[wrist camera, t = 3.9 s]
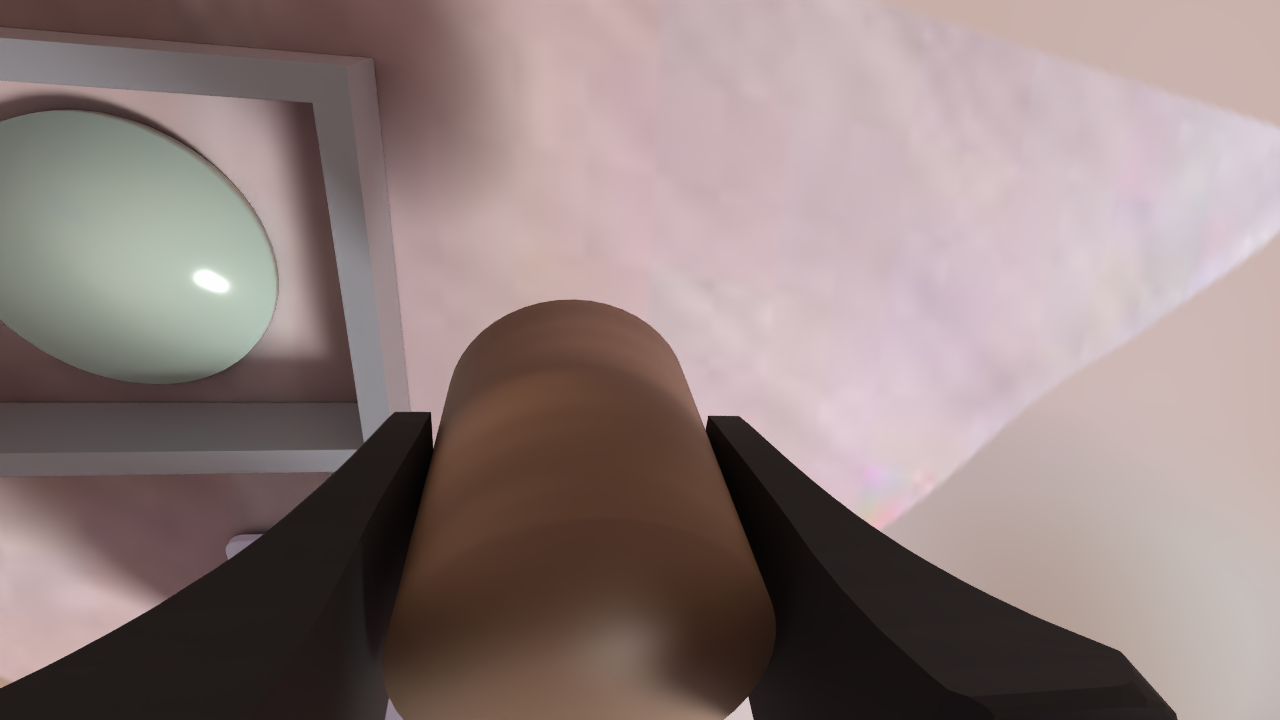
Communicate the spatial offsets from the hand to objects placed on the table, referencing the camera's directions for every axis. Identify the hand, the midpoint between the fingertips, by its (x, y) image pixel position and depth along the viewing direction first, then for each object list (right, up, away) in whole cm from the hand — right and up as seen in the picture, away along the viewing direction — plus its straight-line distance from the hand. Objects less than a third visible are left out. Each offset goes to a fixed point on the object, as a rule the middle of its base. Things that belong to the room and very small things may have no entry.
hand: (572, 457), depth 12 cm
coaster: (-13, +5, +5) cm, 15 cm away
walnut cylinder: (0, +1, +2) cm, 2 cm away
